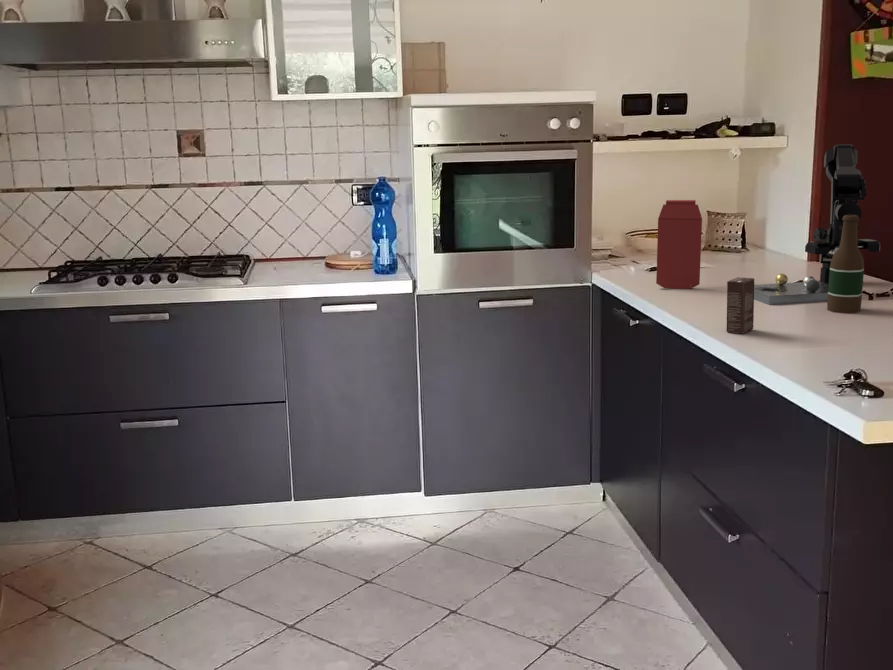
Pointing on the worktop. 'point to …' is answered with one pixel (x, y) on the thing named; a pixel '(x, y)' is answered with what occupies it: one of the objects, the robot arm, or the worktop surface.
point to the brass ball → (781, 279)
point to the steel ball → (807, 280)
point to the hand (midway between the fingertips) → (840, 278)
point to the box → (740, 305)
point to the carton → (679, 245)
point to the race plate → (789, 293)
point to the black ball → (813, 285)
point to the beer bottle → (846, 271)
